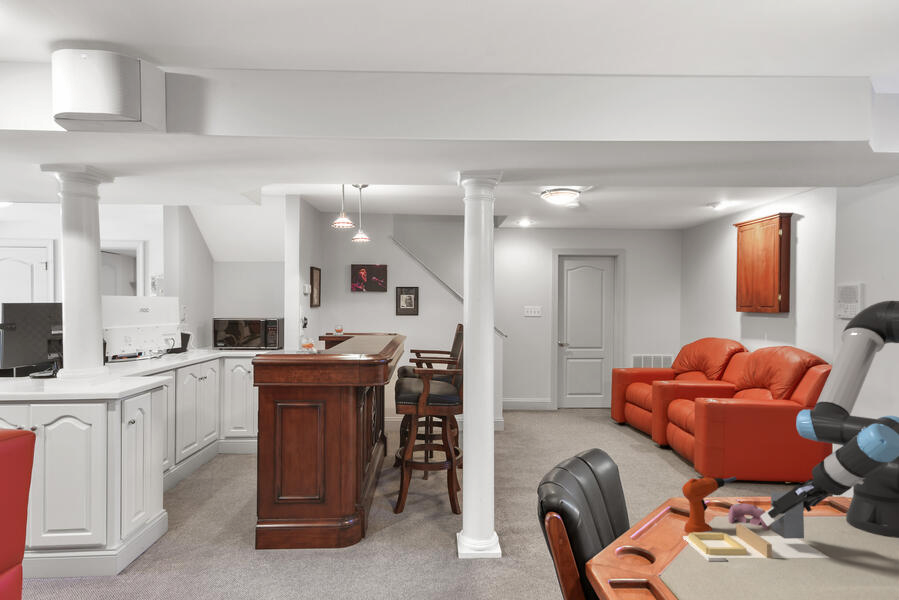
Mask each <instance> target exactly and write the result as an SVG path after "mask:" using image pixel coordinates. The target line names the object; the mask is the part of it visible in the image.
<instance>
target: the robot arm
mask: <svg viewBox="0 0 899 600" xmlns="http://www.w3.org/2000/svg"><path fill="white" fill-rule="evenodd" d="M841 341H842V344H841V346H840V348H839V351H838V354H837V356H836V358H835V361H834V363H833V365H832V367H831V370H830V373H829V374H828V377H827V379H826V380H825V382H824V386H823V387H822V391H821V393H820V395H819V397H818V399H817V401H816V404H815V405H814V408H813V409H809V408H808V409H802V410H801V411H799V412H798V414H797V416H796V424H795V425H796V426H795V427H796V430H797V432H798V435H799V436H800V437H802V438H804V439H808V440H810V441H815V442H818V443H820V442H821V443H827V444H834V445H839V446H841V447H839V448H838V449H836V450H835V451H834V452H832V453H831V454H830V455H828V456H826V457H825V458H824V460H822V461H820V462H818V464H816V465H815V466H814V467H813V468H812V469H811V475H812V478H810V479H808V480H806V481H805V482H804V483H803V484H796V486H794V487H793V488H792V489H791V490H789V491H790V492H788V493H787V494H785V495H784V496H782V497H781V498H779V499H778V500H777V501H773V503H772V506H773V507H772V508H771V507H770V508H769V509H767V510H766V511H765V513H764V514H762V515H761V516H760V517H761V518H762V520H763V521H764V522H765V524H766V525H767V526H768V527H770V526H772V523H774V522H775V521H776V520H778V519H779V518H781V517H782V516H784V515H785V514H786V513H785V512H787V511H789V510H790V509H792V508H794V507H796V506H797V505H799V504H801V503H802V502H803V512H804V511H807V512H808V513H809V512H811V511H813V509H812V508H811V507H816V506H817V505H818V504H820V503H821V502H822V501H824V500H825V499H826V498H828V497H829V496H831V495H833V496H842V495H843V494H845V493H846V492H847V491H849V490H851V489H852V488H853V492H852V493H853V494H852V495H853V496H852V498H851V501H850V504H849V506H848V509H847V511H846V513H845V514H846V516H845V517H846V520H845V521H846V522H847V524H850V525H851V526H853V527H854V528H856V529H859V530H862V531H865V532H868V533H873V534H877V535H881V536H888V537H893V536H894V537H896V538H899V416H897V415H884V416H881V417H879V418H872V417H871V418H870V417H863V416H855V415H851V413H852V411H853V410H854V406H855V404H856V402H857V400H858V397H859V395H860V392H861V389H862V388H863V385H864V382H865V380H866V377H867V376H868V373H869V371H870V368H871V366H872V364H873V361H874V359H875V356H876V354H877V353H878V352H881V351H882V350H883V348H884V347H885V345H886V344H891V343H892V344H899V300H885V301H881V302H877V303H873V304H871V305H869V306H868V307H866V308H864V309H863V310H860V312H858V313H857V314H856V315H855V316H854V317H853V318H851V320H850V321H849V322H848V323H847V324H846V326H845V327H844V329H843V331H842V334H841Z"/></svg>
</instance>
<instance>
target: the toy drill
mask: <svg viewBox="0 0 899 600" xmlns="http://www.w3.org/2000/svg"><path fill="white" fill-rule="evenodd" d="M736 480H737V477H736V476H732V477H729V478H728V477H727V478H721V477H717V478H713V477H712V478H710V477H703V478H690V479H688V481H687V482H686V483H684V484H683V486H682V488H681V489H682V490H681V491H682V495H683V496H684V497H685V498H686V500H688V503H689V517H688V522H686V523H685V524H684V532H686V533H688V534H689V533H707V532H710V531H713V527H712V526H711V525H710V524H708V523H706V519H705V512H706V510H707V509H708V506H707V505H706V502H705V500H704V499H705V498H707V497H708V496H710V495H712V494H713V493H714V492H716V491H717V490H718V489H720V488H722V487H724V486H725V484H727V483H731V482H733V481H736Z"/></svg>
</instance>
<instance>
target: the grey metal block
mask: <svg viewBox="0 0 899 600" xmlns="http://www.w3.org/2000/svg"><path fill="white" fill-rule="evenodd" d="M790 491H791V490H789V491H785V490H784V491H770V505H771V506H770V508H772V507H773V506H772V503H773V501H777V500H778V499H779V498H781V497H782V496H784V495H785V494H787V493H788V492H790ZM785 513H786V514H785V515H784V516H782V517H781V518H779V519H778V520H776V521H775V522H774V523H772V524H771V531H772V532H773V533H776V534H777V536H781V537H783V538H784V539H790V538H798V539H805V526H804V525H805V520H804V515H805V514H804V511H803V502H802V503H801V504H799V505H797V506H796V507H794V508H792V509H790V510H789V511H787V512H785Z"/></svg>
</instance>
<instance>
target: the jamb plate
mask: <svg viewBox="0 0 899 600" xmlns="http://www.w3.org/2000/svg"><path fill="white" fill-rule="evenodd" d="M735 531H736V533H735V535H729V534H728V533H724V532H693V533H690V534H689V533H688V535H683V536H682V539H683V540H684V541H685V540H686V541H687V542H688V543H689V544H688V543H687V542H686V541H685V542H686V543H687V544H688V545H690V546H691V547H692V548H693V549H694V550H695V551H696V552H698V553H699V554H700V555H701V556H702V557H703V558H704V559H705V560H707V561H708V562H729V560H728V559H830V557H829V556H828V555H826V554H825V553H823V552H821V551H819V550H818V549H816V548H814V547H813V546H811V545H809V544H807V543H806V542H804V541H803V540H801V539H800V538H790V539H784V538H783V537H781V536H780V535H758V534H757V533H756V532H754V531H753V530H751V529H749V528H747V527H746V526H745V525H743V524H742V523H736V525H735Z"/></svg>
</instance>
